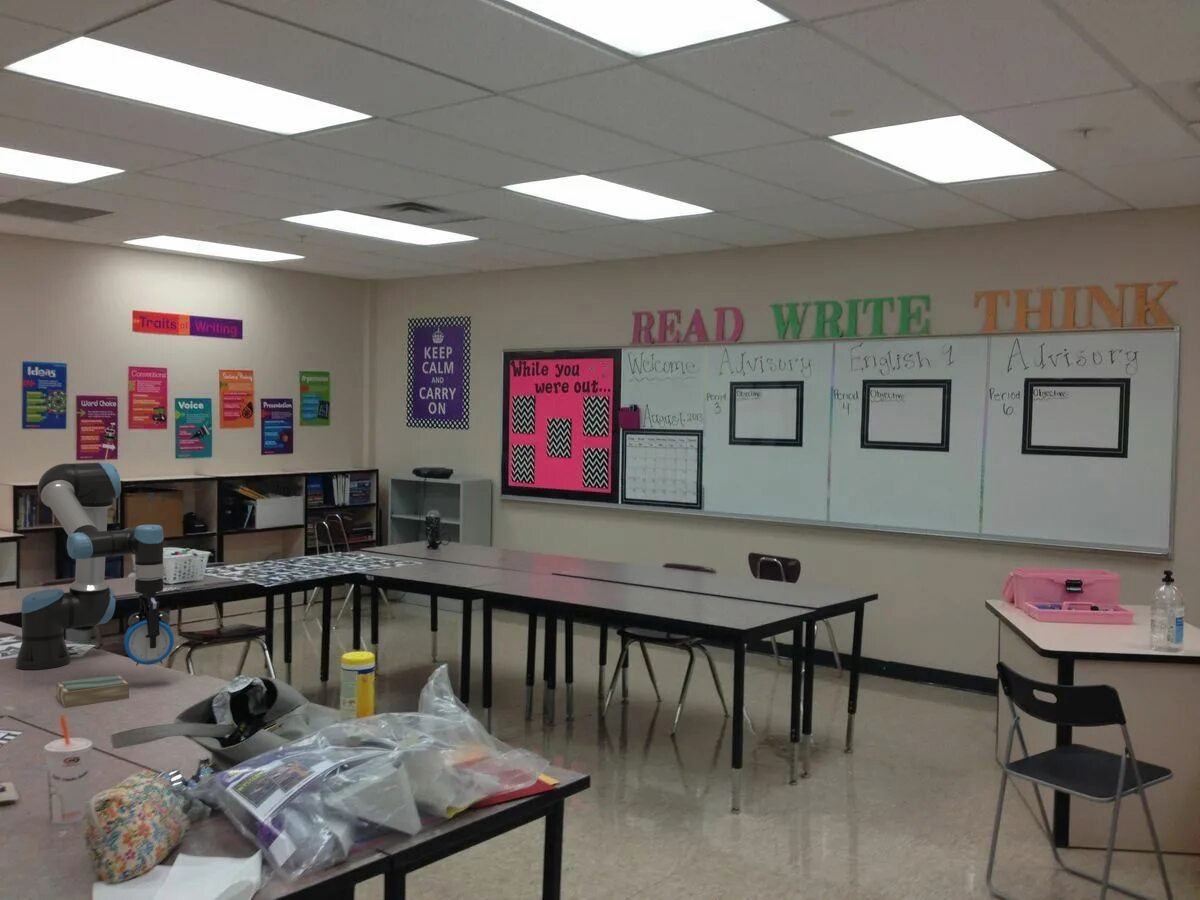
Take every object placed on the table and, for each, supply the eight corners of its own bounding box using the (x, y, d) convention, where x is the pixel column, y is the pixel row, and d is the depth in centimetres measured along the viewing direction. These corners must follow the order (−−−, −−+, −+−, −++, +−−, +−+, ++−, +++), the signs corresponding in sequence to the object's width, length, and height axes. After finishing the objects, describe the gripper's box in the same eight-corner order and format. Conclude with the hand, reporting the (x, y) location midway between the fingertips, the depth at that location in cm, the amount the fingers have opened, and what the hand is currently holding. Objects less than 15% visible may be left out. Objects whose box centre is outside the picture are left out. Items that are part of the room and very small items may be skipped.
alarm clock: (124, 667, 294) (124, 615, 293) (124, 662, 299) (124, 611, 299) (173, 663, 299) (174, 612, 299) (172, 658, 305) (172, 608, 304)
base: (56, 696, 287) (56, 681, 287) (118, 687, 297) (118, 673, 296) (65, 707, 276) (65, 691, 276) (129, 698, 285) (128, 682, 285)
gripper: (127, 574, 304) (127, 651, 305) (143, 584, 288) (143, 665, 289) (154, 572, 308) (154, 647, 309) (171, 581, 293) (171, 661, 293)
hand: (149, 656), depth 299 cm, fingers closed on alarm clock, 7 cm apart
